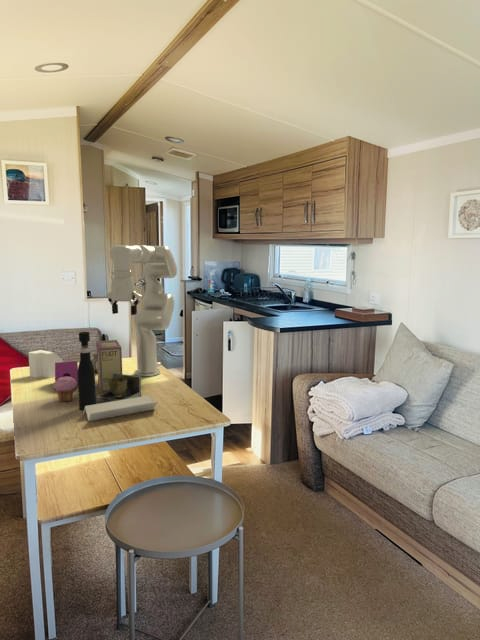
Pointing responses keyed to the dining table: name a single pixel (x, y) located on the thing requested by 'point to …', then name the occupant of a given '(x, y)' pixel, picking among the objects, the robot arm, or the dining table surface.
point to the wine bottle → (86, 374)
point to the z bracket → (119, 407)
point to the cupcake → (65, 388)
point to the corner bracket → (43, 363)
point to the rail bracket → (131, 391)
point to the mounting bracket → (66, 370)
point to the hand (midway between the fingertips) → (124, 314)
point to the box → (108, 362)
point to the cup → (118, 386)
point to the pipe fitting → (95, 361)
